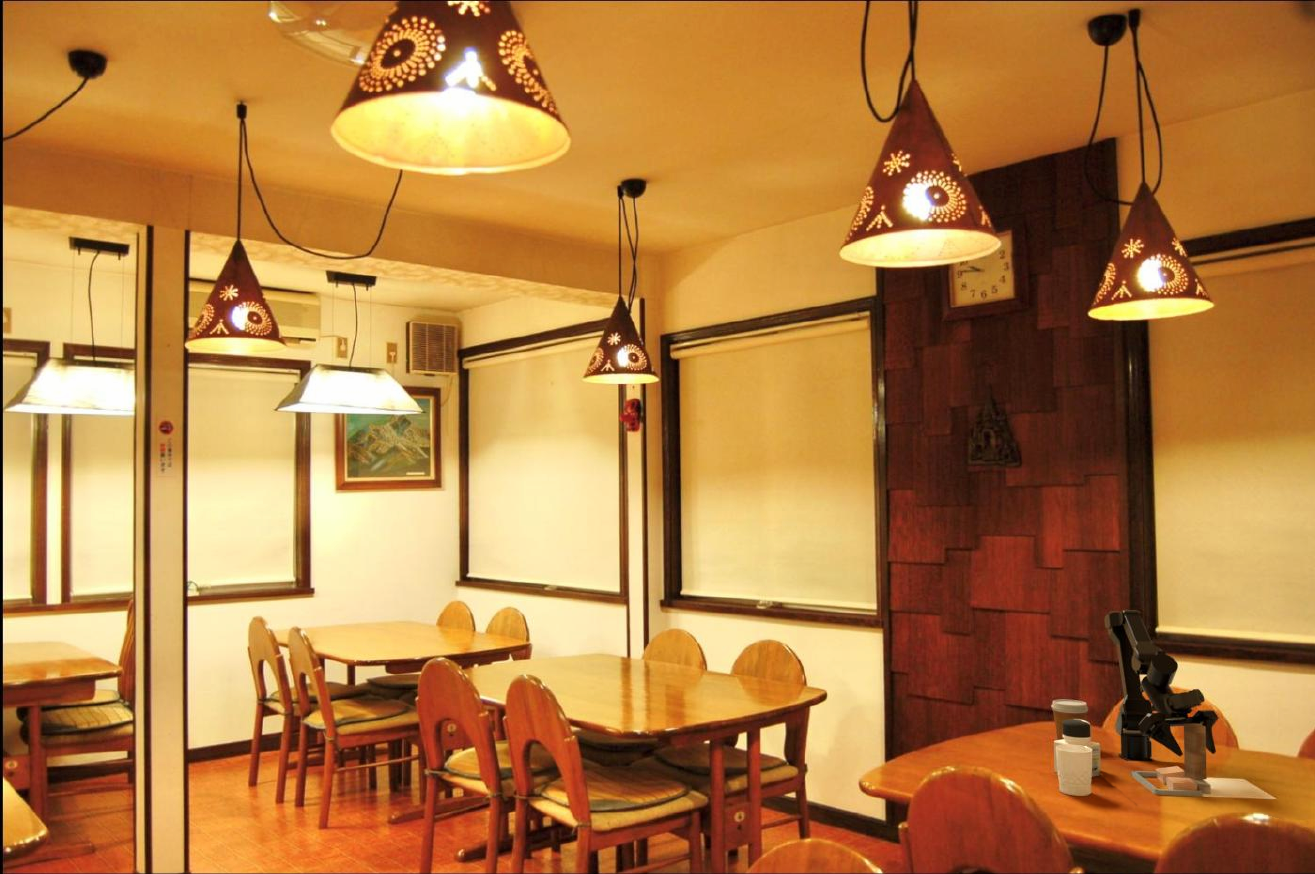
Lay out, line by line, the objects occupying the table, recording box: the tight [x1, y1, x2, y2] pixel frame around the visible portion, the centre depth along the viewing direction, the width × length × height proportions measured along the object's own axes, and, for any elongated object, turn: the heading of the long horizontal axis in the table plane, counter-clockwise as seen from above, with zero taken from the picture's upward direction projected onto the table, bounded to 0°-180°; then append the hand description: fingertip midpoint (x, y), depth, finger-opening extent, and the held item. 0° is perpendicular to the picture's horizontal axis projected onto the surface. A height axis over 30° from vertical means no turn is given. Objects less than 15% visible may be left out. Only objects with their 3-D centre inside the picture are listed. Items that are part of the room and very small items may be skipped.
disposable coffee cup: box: [1050, 699, 1089, 740], centre depth 285 cm, size 10×10×12 cm
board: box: [1203, 777, 1277, 800], centre depth 240 cm, size 16×17×1 cm
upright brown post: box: [1183, 723, 1211, 794], centre depth 241 cm, size 4×12×14 cm, turn 170°
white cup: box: [1056, 744, 1092, 797], centre depth 240 cm, size 8×8×10 cm
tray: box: [1130, 770, 1204, 798], centre depth 241 cm, size 10×17×2 cm, turn 173°
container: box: [1053, 719, 1102, 777], centre depth 257 cm, size 8×8×13 cm
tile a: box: [1166, 777, 1197, 791], centre depth 237 cm, size 5×5×3 cm
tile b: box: [1155, 765, 1186, 785], centre depth 245 cm, size 5×5×3 cm
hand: (1197, 753), depth 240 cm, fingers open, 9 cm apart
